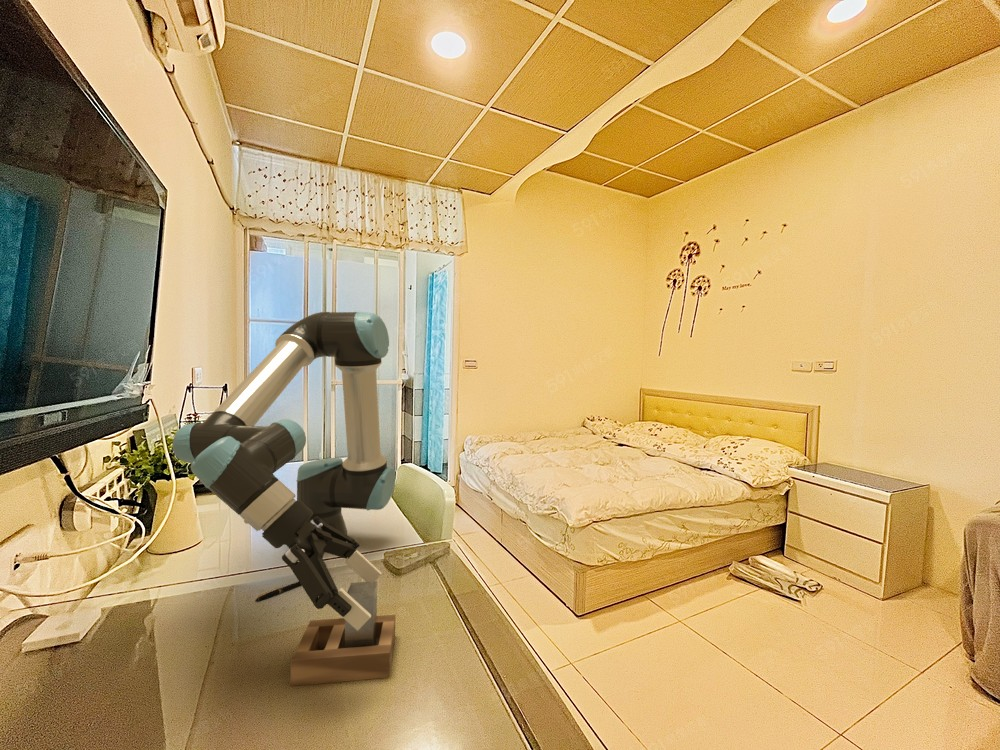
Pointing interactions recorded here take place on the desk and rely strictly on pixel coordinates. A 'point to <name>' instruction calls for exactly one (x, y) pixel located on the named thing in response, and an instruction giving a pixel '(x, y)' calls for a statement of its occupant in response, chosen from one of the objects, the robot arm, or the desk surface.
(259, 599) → the fountain pen
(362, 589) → the grey tall rectangular block
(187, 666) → the desk surface
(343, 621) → the wooden slotted frame
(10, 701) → the desk surface
